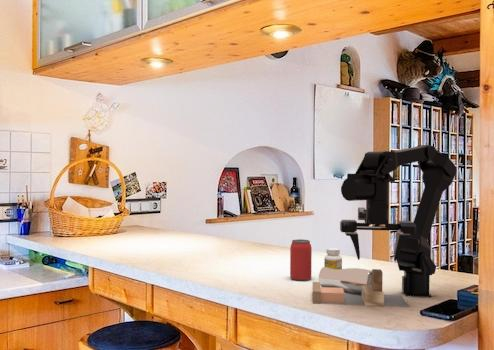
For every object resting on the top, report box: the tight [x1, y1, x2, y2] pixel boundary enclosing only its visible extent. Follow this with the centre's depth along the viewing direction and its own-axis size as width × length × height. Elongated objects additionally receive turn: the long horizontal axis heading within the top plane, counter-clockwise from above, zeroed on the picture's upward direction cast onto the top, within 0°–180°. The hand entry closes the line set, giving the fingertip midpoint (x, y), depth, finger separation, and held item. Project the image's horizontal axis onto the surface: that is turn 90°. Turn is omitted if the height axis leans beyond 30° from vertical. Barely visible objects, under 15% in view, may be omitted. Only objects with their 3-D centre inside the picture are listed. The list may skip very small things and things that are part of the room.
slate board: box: [312, 281, 410, 308], centre depth 139 cm, size 24×12×3 cm, turn 83°
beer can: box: [289, 238, 312, 282], centre depth 165 cm, size 7×7×12 cm
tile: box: [320, 286, 345, 303], centre depth 139 cm, size 6×6×2 cm
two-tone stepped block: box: [362, 268, 385, 307], centre depth 137 cm, size 5×9×8 cm, turn 173°
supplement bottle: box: [323, 247, 343, 269], centre depth 164 cm, size 5×5×10 cm
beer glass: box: [318, 266, 372, 294], centre depth 149 cm, size 7×7×15 cm
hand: (376, 260), depth 137 cm, fingers open, 9 cm apart
